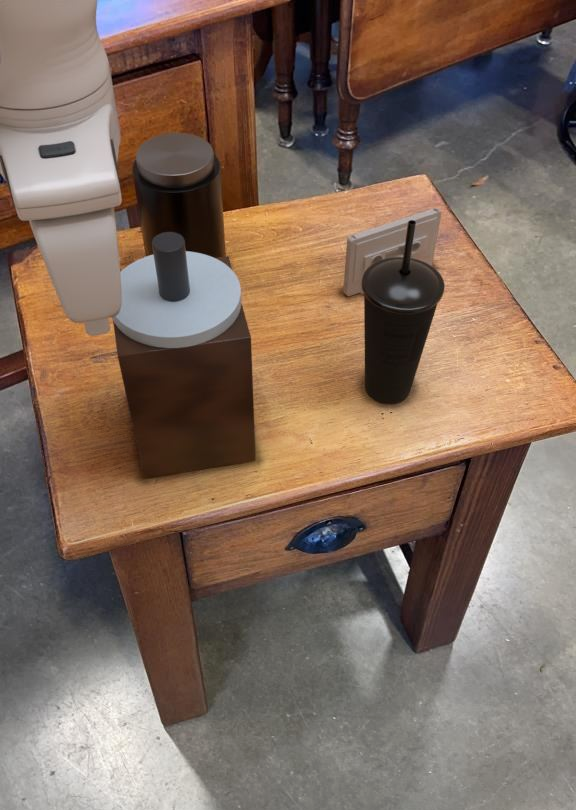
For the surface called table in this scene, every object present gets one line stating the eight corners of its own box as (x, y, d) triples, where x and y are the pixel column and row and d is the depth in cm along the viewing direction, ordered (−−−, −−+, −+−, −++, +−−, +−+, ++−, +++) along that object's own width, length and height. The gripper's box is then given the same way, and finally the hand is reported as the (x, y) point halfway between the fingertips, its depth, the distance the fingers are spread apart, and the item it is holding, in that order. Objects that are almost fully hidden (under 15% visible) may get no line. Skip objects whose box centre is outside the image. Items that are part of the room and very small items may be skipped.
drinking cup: (424, 365, 89) (455, 199, 73) (423, 417, 85) (457, 252, 69) (353, 359, 90) (369, 193, 74) (349, 411, 85) (365, 246, 69)
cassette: (348, 300, 96) (353, 243, 89) (340, 290, 97) (344, 234, 90) (434, 269, 99) (445, 213, 93) (426, 260, 100) (435, 204, 94)
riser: (144, 478, 80) (117, 356, 67) (132, 397, 86) (106, 271, 73) (255, 460, 81) (251, 337, 68) (236, 382, 88) (228, 255, 75)
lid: (116, 357, 67) (103, 295, 62) (104, 270, 73) (92, 209, 68) (252, 337, 68) (250, 276, 63) (229, 254, 75) (225, 193, 70)
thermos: (154, 306, 95) (134, 183, 82) (145, 257, 100) (125, 134, 88) (233, 295, 96) (226, 172, 83) (220, 247, 101) (211, 125, 89)
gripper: (-13, 51, 59) (33, 220, 71) (15, 215, 48) (65, 385, 59) (75, 40, 61) (107, 208, 72) (124, 198, 49) (152, 368, 60)
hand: (88, 289), depth 65 cm, fingers open, 8 cm apart
